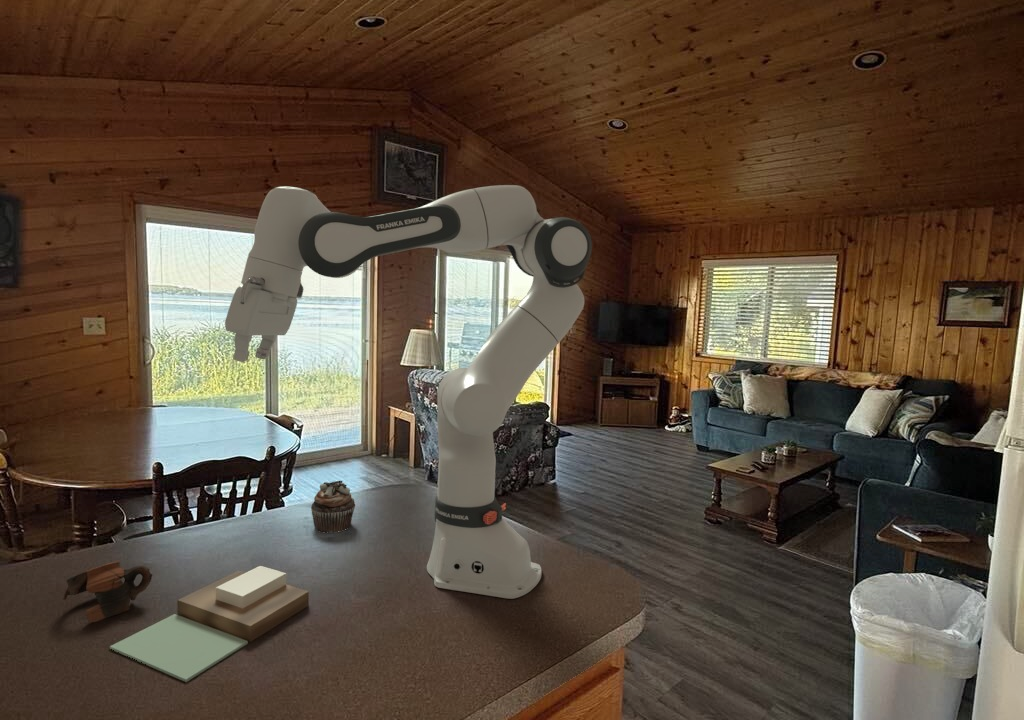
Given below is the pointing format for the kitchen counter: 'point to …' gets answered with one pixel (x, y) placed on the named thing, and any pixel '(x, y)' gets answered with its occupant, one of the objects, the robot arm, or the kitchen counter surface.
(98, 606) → the pottery mug
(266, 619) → the board
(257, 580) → the cream rectangular block
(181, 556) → the kitchen counter surface
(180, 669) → the mat
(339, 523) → the cupcake
